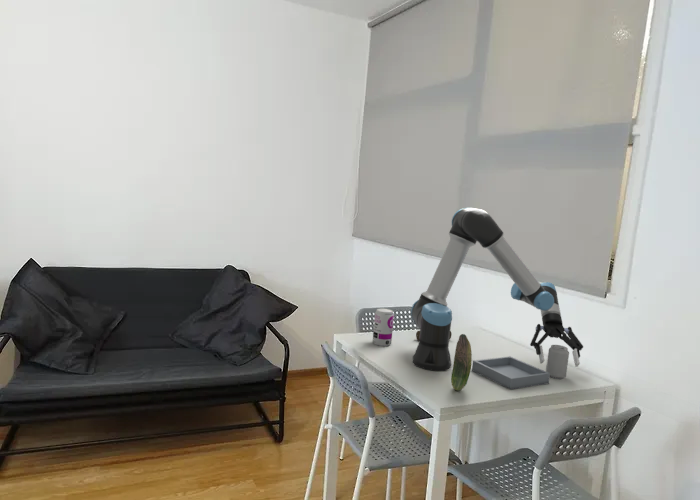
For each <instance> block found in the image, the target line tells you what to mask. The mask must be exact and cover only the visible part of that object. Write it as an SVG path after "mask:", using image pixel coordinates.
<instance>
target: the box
mask: <svg viewBox="0 0 700 500" xmlns="http://www.w3.org/2000/svg"><path fill="white" fill-rule="evenodd" d="M471 371H472V372H475V373H476V374H478V375H480V376H482V377H484V378H486V379H489V380H490V381H492V382H494V383H496V384H498V385H501V386H502V387H503V388H506V389H508V390H516V389H521V388H522V389H523V388H529V387H536V386H541V385H548V384H550V378H551V377H550V373H548V372H546V370H543V369H541V368H539V367H536V366H535V365H532V364H529V363H527V362H525V361H522V360H520V359H517V358H516V357H513V356H511V355H509V356H501V357H493V358H484V359H483V358H482V359H476V360H475V359H474V360H473V359H472V364H471Z"/></svg>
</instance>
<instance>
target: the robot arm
mask: <svg viewBox="0 0 700 500" xmlns="http://www.w3.org/2000/svg"><path fill="white" fill-rule="evenodd" d="M448 235H449V237H450V239H449V241H448V242H447V245H446V248H445V250H444V253H442V257H441V258H440V261H439V262H438V266H437V268H436V270H435V272H434V274H433V277H432V278H431V281H430V283H429V284H428V287H427V289H426V291H423V292H421V293H420V296H419V298H418V299H417V300H416V301H415V302H414V303H413V304H412V307H411V309H410V316H411V319H412V321H413V323H414V324H415V325H416V326H417V327H418V328H419V331H420V336H419V341H418V344H417V347H416V348H415V352H414V354H413V356H412V361H411V362H412V364H413V365H414V366H416V367H418V368H420V369H424V370H427V371H435V372H443V371H449V370H450V369H451V367H452V359H451V353H450V349H449V347H450V346H449V345H450V340H449V338H450V331H451V327H452V321H453V316H452V315H453V313H452V310H451V308H450V307H448V303H447V298H448V295H449V293H450V291H451V290H452V287H453V284H454V282H455V280H456V278H457V276H458V274H459V271H460V269H461V267H462V265H463V263H464V261H465V259H466V256H467V254H468V252H469V250H470V248H471V247H473V246H475V245H476V243H479V244H480V246H481V247H482V248H483V249H487V250H488V251H489V253H490V254H491V255H492V256H493V258H494V259H495V260H496V262H498V264H499V265H500V267H501V268H502V269H503V271H504V272H505V273H506V274H507V275H508V277H510V279H511V280H512V281H513V282H514V283H513V284H512V286H511V289H510V296H511V298H512V299H513V300H515V301H516V300H517V301H521V302H524V303H526V304H528V305H530V306H532V307H534V308H535V309H536V310H540V315H541V320H542V325H541V324H540V323H538V324H537V325H536V326H535V331H534V335H533V337H532V339H531V342H530V343H529V345H530V346H531V347H534V349H535V353H536V355H537V356H538V358H539V363H540V364H543V363H544V362H545V357H544V356H545V355H544V349H543V345H542V343H543V342H544V341H545V340H546V339H547V338H548V337H549V338H556V339H560V340H561V341H563V342H564V343H565V344H566V345H568V347H569V348H571V350H572V351H571V352H572V356H573V362H574V367H575V368H576V367H579V365H580V364H581V363H580V357H581V353H580V352H581V351H582V350H583V348H584V345H583V344H582V342H581V341H580V340H579V339H578V337H577V335H576V334H575V333H574V332H573V329H572V326H568V327H564V325H563V319H562V314H561V310H560V305H559V299H558V292H557V289H556V287H555V285H554V284H553V283H552V282H545V281H544V282H542V283H540V282H539V281H538V279H537V278H536V277H535V275H534V274H533V273H532V271H530V269H529V268H528V267H527V265H526V263H524V261H523V260H522V259H521V258H520V256H519V255H518V253H516V251H515V250H514V249H513V247H512V246H511V244H510V243H509V242H508V241H507V240H506V239H505V237H504V235H505V234H504V231H503V230H502V229H501V227H500V226H499V225H498V224H497V222H496V221H495V220H494V218H493V217H492V216H491V215H490V214H489V213H488V212H487V211H485V210H484V209H480V208H474V207H463V208H461V209H460V208H459V210H457V211H456V212H455V213H454V215H453V216H452V218H451V228H450V230H449V233H448ZM541 331H543V332H544V334H543V336H542V337H540V338H539V340H538V341H537V339H538V337H539V334H540V333H541ZM450 339H451V338H450Z"/></svg>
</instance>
